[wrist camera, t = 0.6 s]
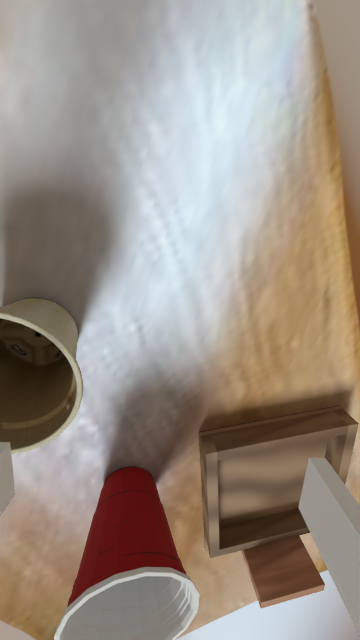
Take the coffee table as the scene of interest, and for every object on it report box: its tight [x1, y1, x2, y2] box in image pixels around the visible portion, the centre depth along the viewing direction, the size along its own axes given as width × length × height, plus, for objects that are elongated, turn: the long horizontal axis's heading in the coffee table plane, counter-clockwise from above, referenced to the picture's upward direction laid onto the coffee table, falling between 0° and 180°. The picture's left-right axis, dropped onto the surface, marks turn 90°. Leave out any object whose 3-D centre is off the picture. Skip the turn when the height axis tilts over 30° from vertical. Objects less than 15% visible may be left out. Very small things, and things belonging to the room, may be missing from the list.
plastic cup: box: [54, 467, 199, 640], centre depth 25 cm, size 11×11×12 cm
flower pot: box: [0, 298, 83, 454], centre depth 19 cm, size 9×9×9 cm
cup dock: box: [199, 406, 359, 608], centre depth 32 cm, size 21×17×8 cm
